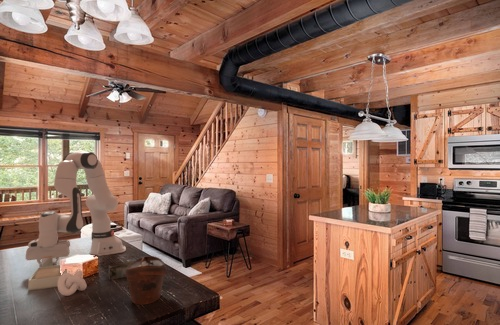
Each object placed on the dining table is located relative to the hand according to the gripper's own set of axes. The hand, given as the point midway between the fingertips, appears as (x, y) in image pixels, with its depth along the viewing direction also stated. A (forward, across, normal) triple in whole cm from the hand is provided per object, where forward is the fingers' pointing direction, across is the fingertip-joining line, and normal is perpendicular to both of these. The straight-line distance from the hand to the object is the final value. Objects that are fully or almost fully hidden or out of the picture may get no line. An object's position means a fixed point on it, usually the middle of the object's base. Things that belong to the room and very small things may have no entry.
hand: (48, 266), depth 164 cm
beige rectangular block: (+3, -4, +18) cm, 19 cm away
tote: (+4, -4, +14) cm, 15 cm away
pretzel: (+4, -17, +31) cm, 36 cm away
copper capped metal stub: (+4, 0, 0) cm, 4 cm away
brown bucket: (+4, -49, +50) cm, 70 cm away
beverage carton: (+4, -41, +18) cm, 45 cm away
